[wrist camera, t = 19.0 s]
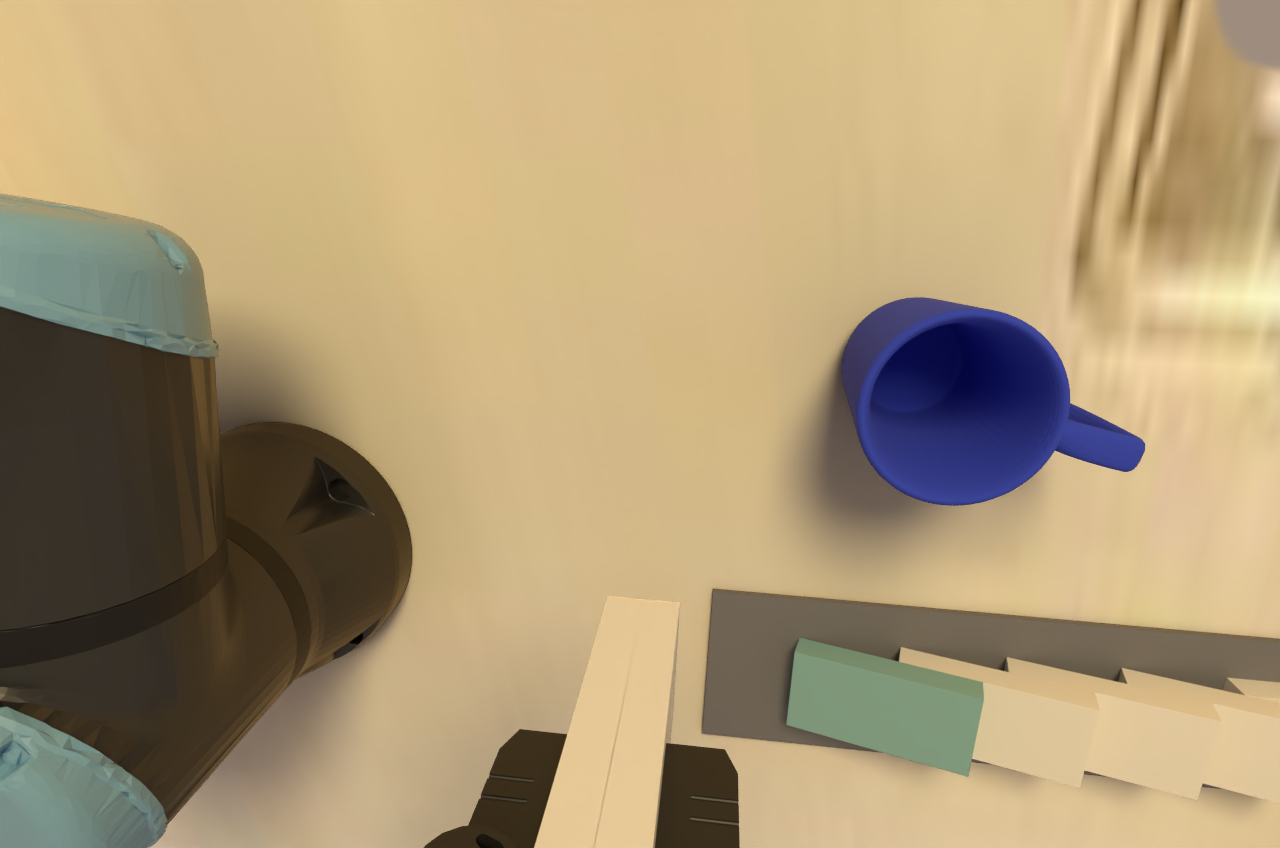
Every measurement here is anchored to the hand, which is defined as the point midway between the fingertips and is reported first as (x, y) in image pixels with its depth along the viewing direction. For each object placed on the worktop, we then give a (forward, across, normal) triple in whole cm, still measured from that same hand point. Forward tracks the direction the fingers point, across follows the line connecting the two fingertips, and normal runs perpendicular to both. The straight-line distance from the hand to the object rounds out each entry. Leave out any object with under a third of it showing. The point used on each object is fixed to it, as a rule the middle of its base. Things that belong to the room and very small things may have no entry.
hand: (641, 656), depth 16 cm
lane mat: (+26, +19, -18) cm, 37 cm away
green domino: (+25, +7, -18) cm, 32 cm away
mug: (+27, +13, +1) cm, 30 cm away
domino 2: (+25, +19, -18) cm, 36 cm away
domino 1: (+25, +13, -18) cm, 34 cm away
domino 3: (+25, +25, -18) cm, 40 cm away
